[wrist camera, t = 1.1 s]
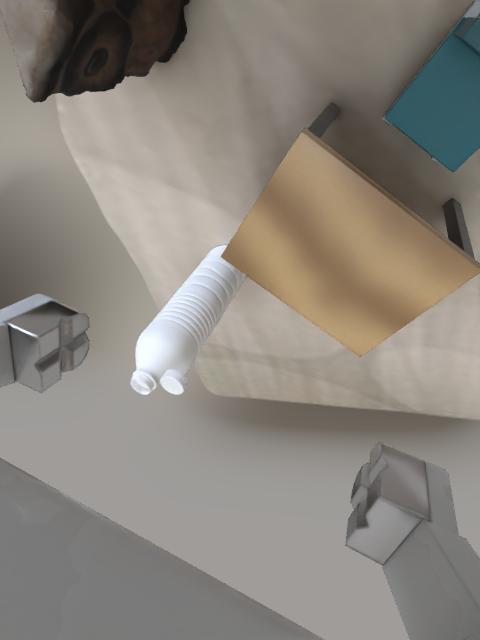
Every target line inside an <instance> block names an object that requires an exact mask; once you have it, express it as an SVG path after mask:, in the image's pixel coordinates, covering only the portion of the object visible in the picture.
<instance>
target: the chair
mask: <svg viewBox="0 0 480 640" xmlns="http://www.w3.org/2000/svg"><path fill="white" fill-rule="evenodd" d="M479 14H480V0H475V1H474V2H473V4H472V5H471V6H470V7H469V9H468V10H467V11H466V12H465V14H464V15H463V16H462V17H461V19H460V20H459V21H458V23H457V24H456V25H455V26H454V28H453V29H452V30H451V31H450V33H449V34H448V35H447V36H446V38H445V39H444V40H443V42H442V43H441V44H440V45H439V47H438V48H437V49H436V50H435V52H434V53H433V54H432V56H431V57H430V58H429V59H428V61H427V62H426V63H425V64H424V66H423V67H422V68H421V69H420V71H419V72H418V73H417V75H416V76H415V77H414V78H413V80H412V81H411V82H410V83H409V85H408V86H407V87H406V88H405V90H404V91H403V92H402V94H401V95H400V96H399V97H398V99H397V100H396V101H395V102H394V104H393V105H392V106H391V108H390V109H389V110H388V111H387V113H386V114H385V115H384V116H383V119H382V120H383V121H385V122H386V123H387V124H390V123H392V124H393V125H394V126H395V127H396V128H398V129H399V130H400V131H401V132H403V133H404V134H405V135H406V136H408V137H409V138H410V139H411V140H413V141H414V142H415V143H416V144H418V145H419V146H420V147H421V148H423V149H424V150H425V151H426V152H428V153H429V154H430V155H431V159H432V160H433V161H435V162H436V163H437V164H439V163H441V164H443V165H444V166H445V167H446V168H448V169H449V170H450V171H451V172H454V171H455V170H456V169H457V168H459V167H460V166H461V165H462V164H463V163H464V162H465V161H466V160H467V159H468V158H469V157H470V156H471V155H472V154H473V153H474V152H475V151H476V150H477V149H478V148H479V147H480V18H476V17H477V16H478V15H479Z"/></svg>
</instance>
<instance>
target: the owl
mask: <svg viewBox="0 0 480 640" xmlns="http://www.w3.org/2000/svg"><path fill="white" fill-rule="evenodd" d="M188 3H189V0H0V11H1V14H2V17H3V20H4V24H5V27H6V30H7V33H8V36H9V40H10V43H11V46H12V48H13V51H14V54H15V57H16V61H17V65H18V68H19V72H20V76H21V79H22V82H23V86H24V87H25V89H26V91H27V92H26V96H27V97H28V98H29V99H30V100H32V101H33V102H43V101H45V100H46V99H47V97H48V96H50V95H51V94H56V93H63V94H64V95H66V96H73V95H80V94H81V93H83V92H85V91H90V92H99V91H107V90H109V89H114V87H115V86H116V84H118V83H121V82H122V80H123V79H124V77H125V76H127V77H129V76H137V77H144V76H146V75H147V74H148V73H149V70H150V69H151V67H152V65H153V64H154V62H155V61H156V60H157V61H158V62H161V63H166V62H168V61H169V60H170V58H171V57H172V54H175V52H176V51H177V49H178V47H179V46H180V44H181V43H182V42H183V41H184V39H185V35H186V33H187V27H186V22H185V19H184V10H183V9H184V6H185V5H187V4H188Z"/></svg>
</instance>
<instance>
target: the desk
mask: <svg viewBox="0 0 480 640" xmlns="http://www.w3.org/2000/svg"><path fill="white" fill-rule="evenodd" d="M339 111H340V108H338V107H337V106H336V105H335V104H333V103H332V102H331V103H330V104H329V105H328V106H327V108H326V109H325V110H324V111H323V112H322V113H321V114H320V115H319V117H318V118H317V119H316V120H315V121H314V122H313V123H312V125H311V126H310V127H309V128H308V129H306V128H304V129H303V130H302V131H301V133H300V134H299V136H298V137H297V139H296V140H295V142H294V144H293V145H292V147H291V148H290V150H289V151H288V153H287V154H286V156H285V158H284V159H283V161H282V162H281V164H280V165H279V167H278V168H277V170H276V171H275V173H274V175H273V176H272V178H271V179H270V181H269V182H268V184H267V185H266V187H265V188H264V190H263V192H262V193H261V195H260V196H259V198H258V199H257V201H256V202H255V204H254V205H253V207H252V209H251V210H250V212H249V213H248V215H247V216H246V218H245V219H244V221H243V223H242V224H241V226H240V227H239V229H238V230H237V232H236V233H235V235H234V236H233V238H232V240H231V241H230V243H229V244H228V246H227V247H226V249H225V250H224V252H223V253H222V255H221V258H222V259H224V260H225V261H227V262H228V263H229V264H231V265H232V266H234V267H235V268H236V269H238V270H239V271H241V272H242V273H243V274H245V275H246V276H248V277H249V278H250V279H252V280H253V281H255V282H256V283H257V284H259V285H260V286H262V287H263V288H264V289H266V290H267V291H269V292H270V293H271V294H273V295H274V296H276V297H277V298H278V299H280V300H281V301H283V302H284V303H285V304H287V305H288V306H290V307H291V308H292V309H294V310H295V311H297V312H298V313H299V314H301V315H302V316H304V317H305V318H306V319H308V320H309V321H311V322H312V323H313V324H315V325H316V326H318V327H319V328H320V329H322V330H323V331H325V332H326V333H327V334H329V335H330V336H332V337H333V338H334V339H336V340H337V341H339V342H340V343H341V344H343V345H344V346H346V347H347V348H348V349H350V350H351V351H353V352H354V353H355V354H357V355H358V356H360V357H361V356H363V355H364V354H365V353H367V352H368V351H370V350H371V349H372V348H374V347H375V346H377V345H378V344H380V343H381V342H382V341H384V340H385V339H387V338H388V337H389V336H391V335H392V334H394V333H395V332H397V331H398V330H399V329H401V328H402V327H404V326H405V325H406V324H408V323H409V322H411V321H412V320H414V319H415V318H416V317H418V316H419V315H421V314H422V313H423V312H425V311H426V310H428V309H429V308H430V307H432V306H433V305H435V304H436V303H438V302H439V301H440V300H442V299H443V298H445V297H446V296H447V295H449V294H450V293H452V292H453V291H455V290H456V289H457V288H459V287H460V286H462V285H463V284H464V283H466V282H467V281H469V280H470V279H472V278H473V277H474V276H476V275H477V274H479V273H480V263H479V262H477V261H476V260H475V258H474V254H473V250H472V246H471V242H470V239H469V235H468V231H467V227H466V223H465V220H464V216H463V212H462V208H461V204H459V203H458V202H457V201H456V200H454V199H453V198H452V199H451V200H449V201H448V202H447V203H446V204H445V205H444V206H443V209H444V215H445V221H446V227H447V232H448V238H449V239H448V238H446V237H445V236H444V235H443V234H441V233H440V232H439V231H437V230H436V229H435V228H433V227H432V226H431V225H430V224H428V223H427V222H426V221H424V220H423V219H422V218H421V217H419V216H418V215H417V214H415V213H414V212H413V211H412V210H410V209H409V208H408V207H406V206H405V205H404V204H403V203H401V202H400V201H399V200H397V199H396V198H395V197H394V196H392V195H391V194H390V193H388V192H387V191H386V190H385V189H383V188H382V187H381V186H379V185H378V184H377V183H376V182H374V181H373V180H372V179H370V178H369V177H368V176H367V175H365V174H364V173H363V172H361V171H360V170H359V169H358V168H356V167H355V166H354V165H352V164H351V163H350V162H349V161H347V160H346V159H345V158H343V157H342V156H341V155H340V154H338V153H337V152H336V151H334V150H333V149H332V148H331V147H329V146H328V145H327V144H325V143H324V142H323V141H322V140H320V137H321V136H322V135H323V133H324V132H325V130H326V129H327V128H328V126H329V125H330V124H331V122H332V121H333V119H334V118H335V116H336V115H337V114H338V112H339Z"/></svg>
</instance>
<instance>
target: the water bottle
mask: <svg viewBox="0 0 480 640" xmlns="http://www.w3.org/2000/svg"><path fill="white" fill-rule="evenodd" d="M226 247H227V246H226V245H222V246H219V247H215V248H214V249H212V250H211V251H210V252H209V254H208V255H207V256H206V257H205V259H204V260H203V261H202V262H201V263H200V265H199V266H198V267H197V268H196V269H195V270H194V272H193V273H192V274H191V275H190V276H189V278H188V279H187V280H186V281H185V282H184V283H183V285H182V286H181V288H180V289H178V291H177V292H176V293H175V294H174V296H173V297H172V299H170V301H169V302H168V303H167V304H166V306H165V307H164V308H163V309H162V311H160V313H159V314H158V315H157V316H156V318H155V319H154V320H153V321H152V322H151V324H149V326H148V327H147V328H146V329H145V330H144V331H143V332H142V334H141V335H140V337H139V339H138V341H137V344H136V371H135V372H134V373H133V375H132V379H131V381H130V384H131V386H132V387H133V389H134V390H135V391H137V392H139V393H141V394H145V395H146V394H149V393H150V392H151V391H152V390H154V389H155V388H156V385H157V384H160V383H161V385H162V386H163V388H164V389H165V390H166V391H168V392H170V393H172V394H176V395H179V394H181V393H183V392H184V390H185V388H186V386H187V385H188V381H187V379H186V378H185V376H184V374H185V373H186V372H187V371H188V370H189V368H190V367H191V365H192V364H193V362H194V360H195V358H196V356H197V355H198V353H199V352H200V350H201V349H202V347H203V345H204V344H205V342H206V340H207V339H208V337H209V336H210V334H211V332H212V331H213V329H214V328H215V326H216V325H217V323H218V322H219V320H220V318H221V316H222V315H223V314H224V312H225V310H226V308H227V307H228V305H229V304H230V302H231V300H232V299H233V297H234V296H235V294H236V292H237V291H238V289H239V288H240V286H241V284H242V283H243V281H244V280H245V278H246V275H245V274H243V273H242V272H241V271H239V270H238V269H236V268H235V267H234V266H232V265H231V264H229V263H228V262H227V261H225V260H224V259H222V258H221V255H222V253H223V252H224V250H225V249H226ZM182 377H183V378H182Z"/></svg>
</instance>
